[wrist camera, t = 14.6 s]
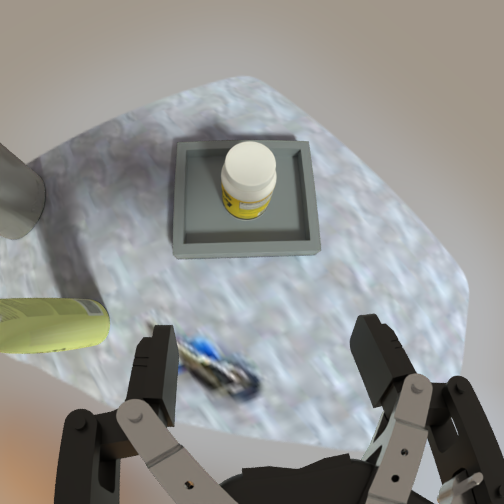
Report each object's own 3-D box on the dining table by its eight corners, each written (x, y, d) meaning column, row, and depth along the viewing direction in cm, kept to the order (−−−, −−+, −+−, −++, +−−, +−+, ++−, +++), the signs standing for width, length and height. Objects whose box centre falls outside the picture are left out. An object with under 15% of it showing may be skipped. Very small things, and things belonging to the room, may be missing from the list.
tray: (177, 259, 30) (172, 254, 28) (180, 153, 32) (177, 142, 30) (314, 255, 31) (321, 250, 29) (303, 152, 33) (308, 141, 31)
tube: (81, 356, 27) (-54, 385, 8) (61, 315, 28) (-78, 305, 9) (119, 332, 28) (-14, 348, 9) (97, 289, 29) (-40, 256, 10)
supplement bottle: (219, 181, 31) (216, 139, 23) (264, 176, 32) (275, 133, 23) (225, 225, 30) (223, 193, 22) (272, 219, 31) (286, 186, 22)
